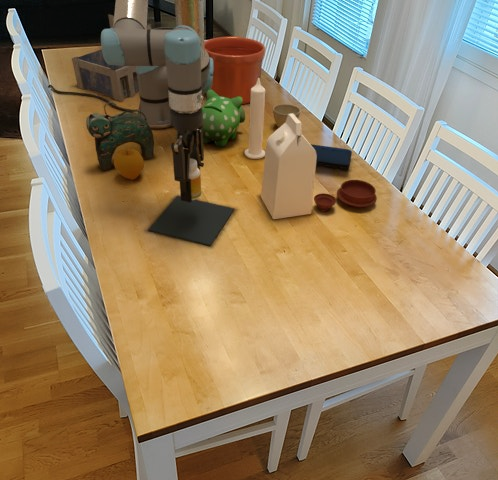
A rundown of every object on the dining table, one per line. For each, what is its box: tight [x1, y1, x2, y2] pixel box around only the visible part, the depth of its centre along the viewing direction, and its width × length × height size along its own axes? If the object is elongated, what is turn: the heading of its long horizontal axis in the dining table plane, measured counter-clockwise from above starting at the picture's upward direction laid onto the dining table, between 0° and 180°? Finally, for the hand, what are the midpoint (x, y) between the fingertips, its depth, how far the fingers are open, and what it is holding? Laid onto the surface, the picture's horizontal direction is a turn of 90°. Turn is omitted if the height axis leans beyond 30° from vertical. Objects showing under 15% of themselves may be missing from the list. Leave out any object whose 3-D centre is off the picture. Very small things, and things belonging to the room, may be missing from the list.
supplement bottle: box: [189, 158, 202, 200], centre depth 118 cm, size 5×5×10 cm
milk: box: [260, 113, 317, 220], centre depth 125 cm, size 12×12×26 cm
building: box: [71, 13, 153, 102], centre depth 187 cm, size 23×24×23 cm
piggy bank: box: [201, 90, 246, 148], centre depth 158 cm, size 14×18×15 cm
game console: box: [310, 143, 353, 171], centre depth 149 cm, size 16×13×9 cm
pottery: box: [313, 179, 378, 212], centre depth 134 cm, size 12×20×4 cm, turn 113°
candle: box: [244, 78, 266, 160], centre depth 147 cm, size 7×7×25 cm
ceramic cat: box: [85, 101, 155, 171], centre depth 142 cm, size 20×6×20 cm, turn 122°
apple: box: [113, 148, 145, 181], centre depth 139 cm, size 9×9×9 cm
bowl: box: [272, 103, 301, 129], centre depth 169 cm, size 10×10×7 cm
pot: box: [204, 36, 266, 105], centre depth 186 cm, size 25×25×19 cm
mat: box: [147, 195, 235, 247], centre depth 126 cm, size 18×18×1 cm
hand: (191, 194), depth 121 cm, fingers closed on supplement bottle, 5 cm apart
